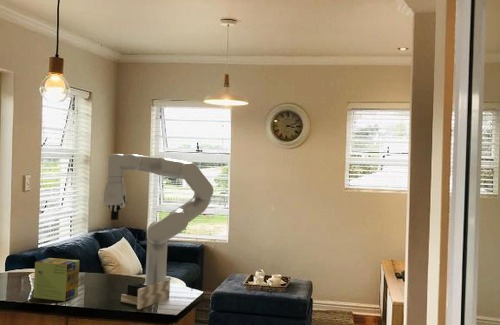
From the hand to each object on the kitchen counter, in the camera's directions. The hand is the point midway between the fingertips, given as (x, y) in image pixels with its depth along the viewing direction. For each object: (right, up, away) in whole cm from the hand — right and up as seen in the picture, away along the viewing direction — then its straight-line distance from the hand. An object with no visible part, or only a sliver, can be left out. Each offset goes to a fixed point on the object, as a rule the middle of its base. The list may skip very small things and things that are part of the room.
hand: (114, 219), depth 239 cm
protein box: (-21, -32, -17) cm, 42 cm away
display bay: (+16, -33, -19) cm, 41 cm away
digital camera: (+16, -33, -19) cm, 42 cm away
